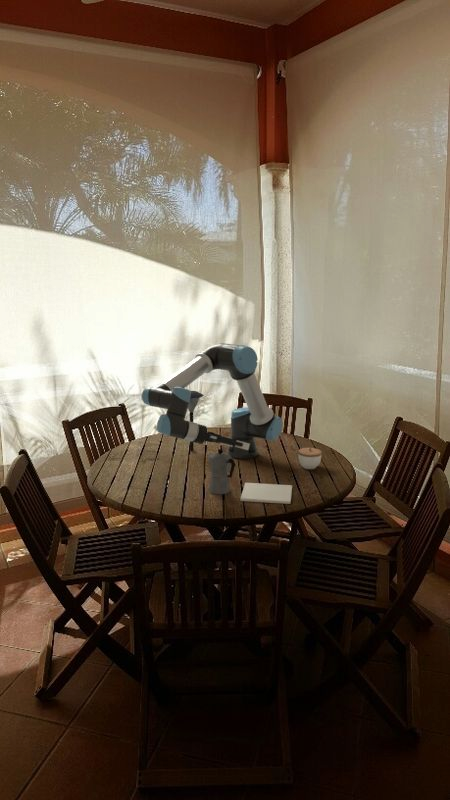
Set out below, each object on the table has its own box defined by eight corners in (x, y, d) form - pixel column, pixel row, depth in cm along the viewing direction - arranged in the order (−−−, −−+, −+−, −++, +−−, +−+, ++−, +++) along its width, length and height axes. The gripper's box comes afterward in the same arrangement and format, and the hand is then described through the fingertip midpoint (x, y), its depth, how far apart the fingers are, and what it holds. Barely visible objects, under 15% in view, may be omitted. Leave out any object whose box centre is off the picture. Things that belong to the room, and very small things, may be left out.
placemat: (245, 484, 267) (245, 482, 266) (292, 487, 264) (292, 485, 264) (240, 500, 249) (240, 498, 249) (290, 503, 247) (290, 501, 246)
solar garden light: (203, 454, 307) (203, 394, 301) (178, 453, 307) (178, 394, 301) (204, 446, 319) (204, 389, 313) (180, 446, 319) (179, 389, 313)
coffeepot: (200, 489, 261) (200, 448, 257) (217, 483, 268) (217, 443, 264) (225, 499, 251) (226, 456, 246) (242, 493, 257) (243, 452, 253)
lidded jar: (320, 471, 284) (321, 452, 282) (296, 470, 286) (297, 450, 284) (321, 464, 294) (322, 445, 292) (298, 462, 296) (299, 443, 294)
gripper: (182, 439, 259) (227, 451, 267) (204, 444, 236) (252, 457, 244) (186, 422, 260) (231, 434, 268) (209, 425, 237) (257, 438, 245)
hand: (241, 445), depth 256 cm, fingers open, 13 cm apart
